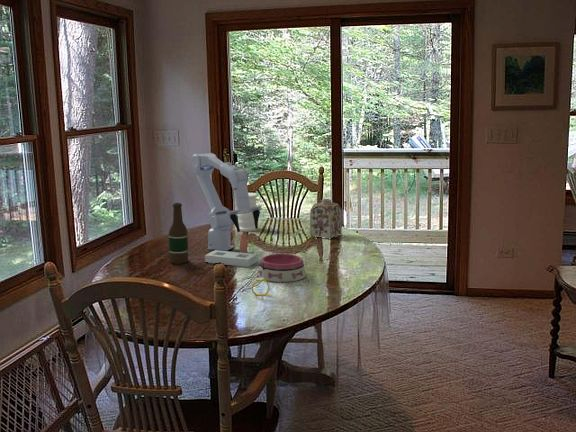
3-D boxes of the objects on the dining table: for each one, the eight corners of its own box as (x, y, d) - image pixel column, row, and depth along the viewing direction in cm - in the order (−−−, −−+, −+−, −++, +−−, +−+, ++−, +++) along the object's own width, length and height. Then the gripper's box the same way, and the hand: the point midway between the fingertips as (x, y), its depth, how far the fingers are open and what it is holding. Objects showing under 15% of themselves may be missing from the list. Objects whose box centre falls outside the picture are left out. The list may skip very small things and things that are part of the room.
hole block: (205, 262, 242) (204, 255, 241) (215, 257, 250) (214, 250, 250) (248, 266, 236) (248, 259, 235) (257, 261, 244) (257, 254, 243)
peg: (238, 256, 251) (238, 235, 249) (241, 255, 254) (241, 234, 252) (245, 257, 250) (245, 236, 248) (248, 255, 253) (247, 234, 251)
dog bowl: (313, 281, 218) (313, 263, 217) (264, 285, 213) (263, 266, 212) (298, 267, 236) (298, 251, 235) (252, 271, 231) (251, 254, 229)
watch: (252, 297, 200) (250, 280, 199) (252, 294, 203) (250, 278, 202) (270, 295, 201) (268, 278, 199) (269, 293, 203) (268, 276, 202)
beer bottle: (192, 260, 245) (190, 202, 241) (182, 264, 238) (181, 205, 234) (175, 258, 248) (173, 201, 243) (165, 263, 241) (163, 204, 236)
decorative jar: (342, 235, 292) (342, 198, 288) (330, 239, 282) (331, 202, 279) (320, 232, 298) (321, 196, 295) (308, 236, 288) (309, 200, 285)
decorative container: (257, 231, 299) (257, 196, 296) (234, 231, 299) (233, 196, 296) (258, 226, 310) (258, 192, 307) (236, 226, 311) (236, 192, 307)
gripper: (223, 201, 247) (229, 233, 247) (257, 195, 245) (263, 227, 245) (226, 201, 254) (232, 232, 254) (260, 195, 252) (265, 227, 252)
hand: (247, 230), depth 250 cm, fingers open, 7 cm apart
